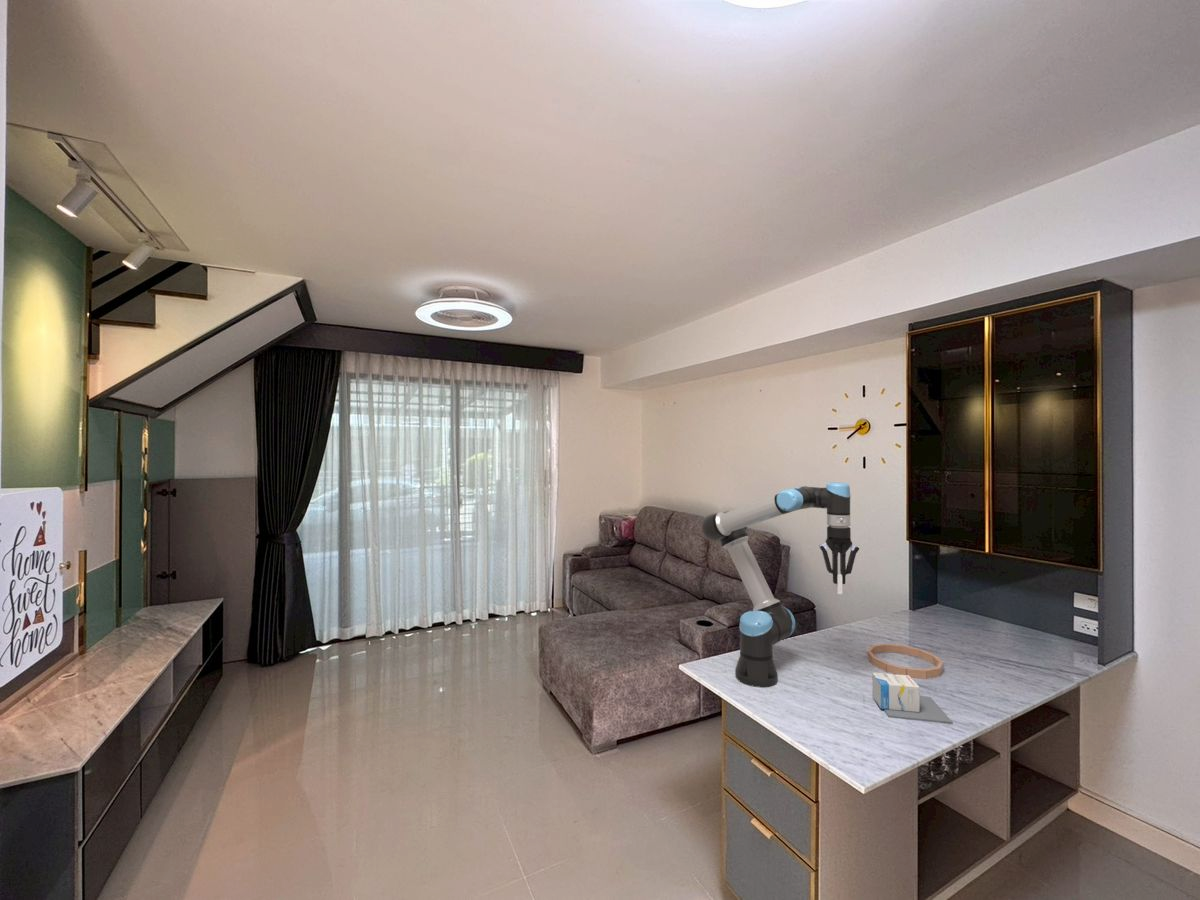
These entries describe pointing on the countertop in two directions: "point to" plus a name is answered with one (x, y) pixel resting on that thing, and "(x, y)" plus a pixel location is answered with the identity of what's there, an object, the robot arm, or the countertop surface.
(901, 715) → the mat
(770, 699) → the countertop surface
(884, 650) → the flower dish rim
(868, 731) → the countertop surface
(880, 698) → the ink box
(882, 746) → the countertop surface
